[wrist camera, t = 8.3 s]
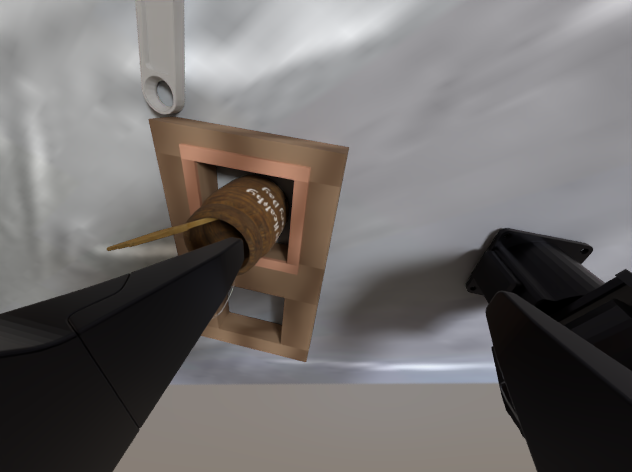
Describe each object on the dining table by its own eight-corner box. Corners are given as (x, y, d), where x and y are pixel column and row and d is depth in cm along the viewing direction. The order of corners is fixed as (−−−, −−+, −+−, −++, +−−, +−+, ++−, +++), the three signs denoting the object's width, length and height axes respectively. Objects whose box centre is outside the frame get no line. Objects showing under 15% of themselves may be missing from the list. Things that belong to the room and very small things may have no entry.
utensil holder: (244, 238, 23) (152, 347, 13) (215, 177, 21) (69, 255, 10) (299, 229, 22) (243, 345, 12) (276, 161, 19) (173, 235, 9)
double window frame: (349, 147, 17) (346, 155, 15) (310, 343, 30) (305, 364, 28) (173, 116, 19) (145, 119, 16) (206, 317, 31) (193, 336, 29)
